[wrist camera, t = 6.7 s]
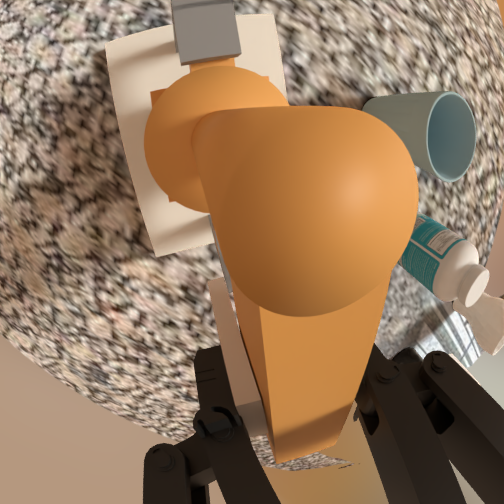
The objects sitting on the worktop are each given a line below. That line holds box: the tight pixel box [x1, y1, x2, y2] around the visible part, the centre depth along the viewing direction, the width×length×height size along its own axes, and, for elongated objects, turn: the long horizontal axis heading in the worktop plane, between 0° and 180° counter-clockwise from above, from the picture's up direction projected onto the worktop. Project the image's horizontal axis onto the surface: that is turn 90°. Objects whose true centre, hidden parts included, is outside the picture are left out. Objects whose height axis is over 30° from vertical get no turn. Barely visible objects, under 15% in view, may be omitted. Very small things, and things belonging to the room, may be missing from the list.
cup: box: [362, 91, 476, 182], centre depth 21 cm, size 8×8×10 cm
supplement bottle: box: [392, 348, 423, 364], centre depth 45 cm, size 7×7×12 cm
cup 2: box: [453, 292, 504, 355], centre depth 40 cm, size 11×11×15 cm
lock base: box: [105, 0, 288, 293], centre depth 17 cm, size 20×14×11 cm
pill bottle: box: [397, 212, 489, 307], centre depth 27 cm, size 8×7×14 cm
